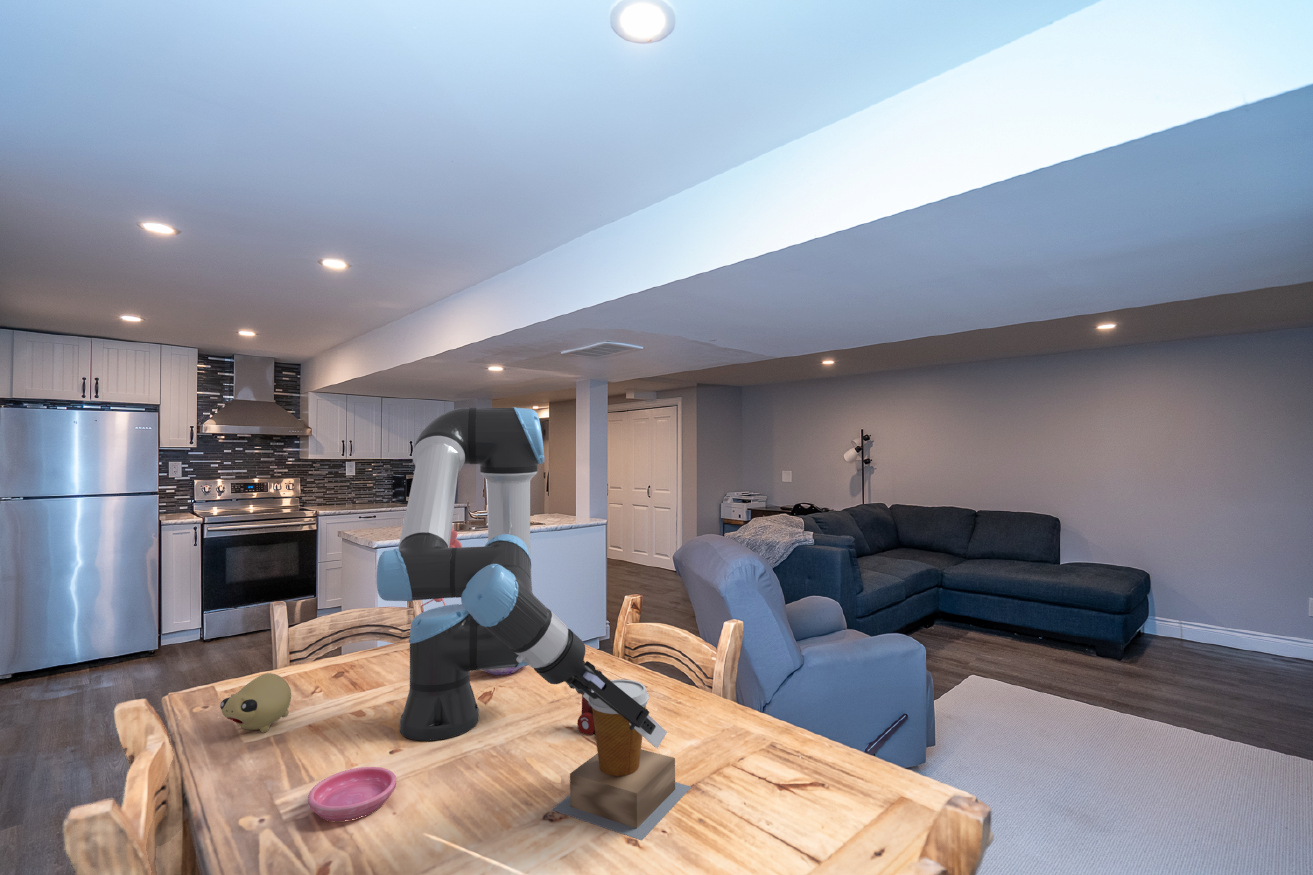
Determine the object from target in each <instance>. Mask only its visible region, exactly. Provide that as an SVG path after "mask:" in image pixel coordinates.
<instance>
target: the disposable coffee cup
mask: <svg viewBox="0 0 1313 875" xmlns="http://www.w3.org/2000/svg"><path fill="white" fill-rule="evenodd" d="M609 680H610V681H611V682H612V683H614V684H615V685H616V686H617V687H619V688H620V689H621V690H622V691H624V692H625V693H626V694H627V695H629V696H630V697H631V698H632V699H634V700H635V701H636V702H637V703H639V704H640V705H641V706H642V707H644V708H646V709H647V704H648V701H649V699H650V695H649V692H648V691H647V688H646V686H645V684H644V683H641V682H639V681H636V680H631V679H609ZM591 692H592V693H593V692H594V691H591ZM589 702H590V704H591V707H592V711H593V719H594V727H595V732H594V734H595V742H596V750H597V753H598V759H599V768H600V770H601V771H602V772H603V773H605V774H608V775H613V776H623V775H628V774H631V773H633V772H635V771H636V770H637V769H638V768H639V763H640V754H641V749H642V746H643V744H642V743H643V736H642V735H641V734H640V733H639V732H637V731H636V730H635V729H633V731H632V730H630V729H629V728H630V726H631V725H630V724H629V723H630V722H629V721H627V720H626V719H625V718H623V717H622V716H621V715H619V714H618V713H617V712H616V711H614V710H613V709H612V708H610V707H609V706H608V705H606V704H605V703H604V702H602V701H601V700H600V699H598V698H597V699H592V698H591V697H590V696H589Z"/></svg>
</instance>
